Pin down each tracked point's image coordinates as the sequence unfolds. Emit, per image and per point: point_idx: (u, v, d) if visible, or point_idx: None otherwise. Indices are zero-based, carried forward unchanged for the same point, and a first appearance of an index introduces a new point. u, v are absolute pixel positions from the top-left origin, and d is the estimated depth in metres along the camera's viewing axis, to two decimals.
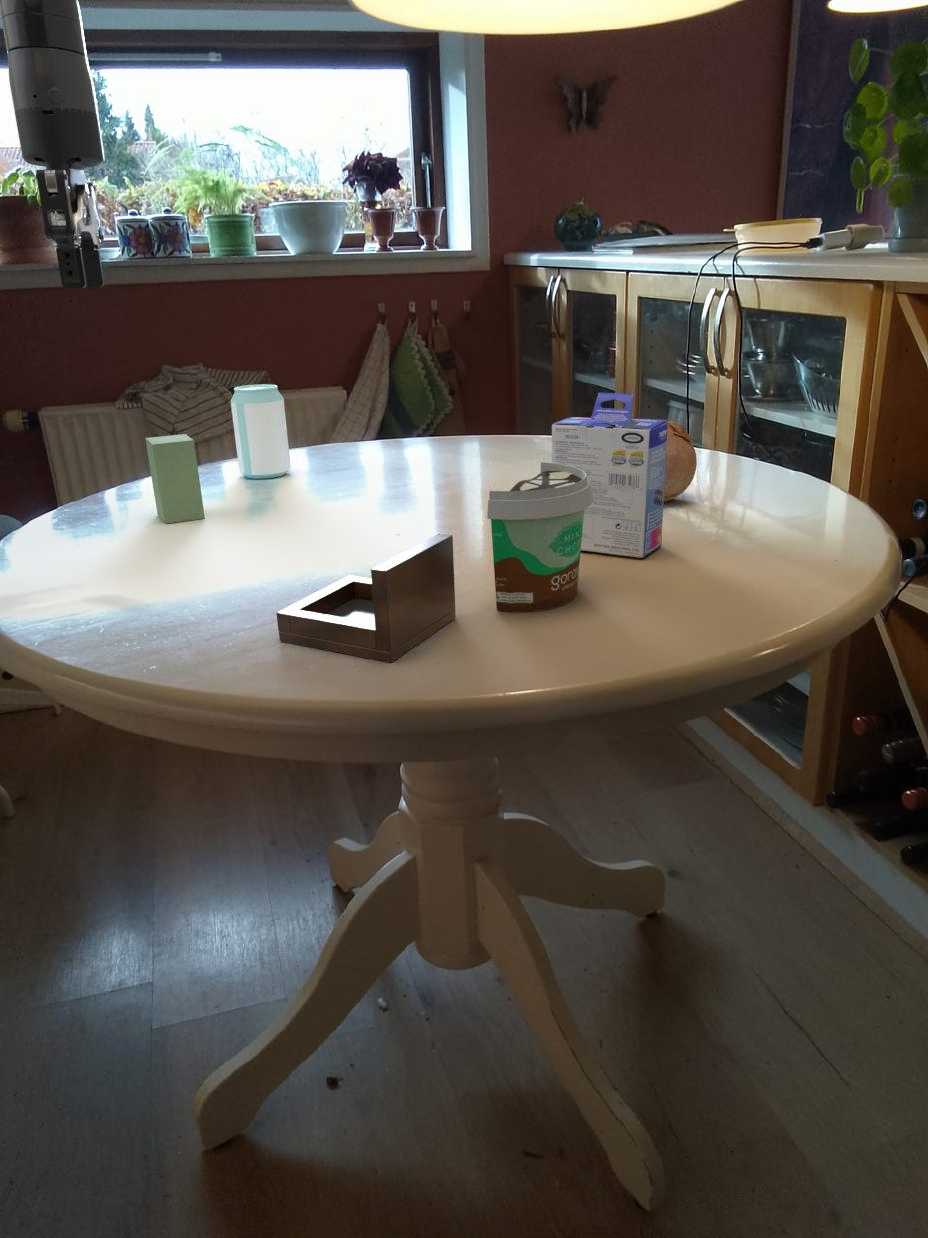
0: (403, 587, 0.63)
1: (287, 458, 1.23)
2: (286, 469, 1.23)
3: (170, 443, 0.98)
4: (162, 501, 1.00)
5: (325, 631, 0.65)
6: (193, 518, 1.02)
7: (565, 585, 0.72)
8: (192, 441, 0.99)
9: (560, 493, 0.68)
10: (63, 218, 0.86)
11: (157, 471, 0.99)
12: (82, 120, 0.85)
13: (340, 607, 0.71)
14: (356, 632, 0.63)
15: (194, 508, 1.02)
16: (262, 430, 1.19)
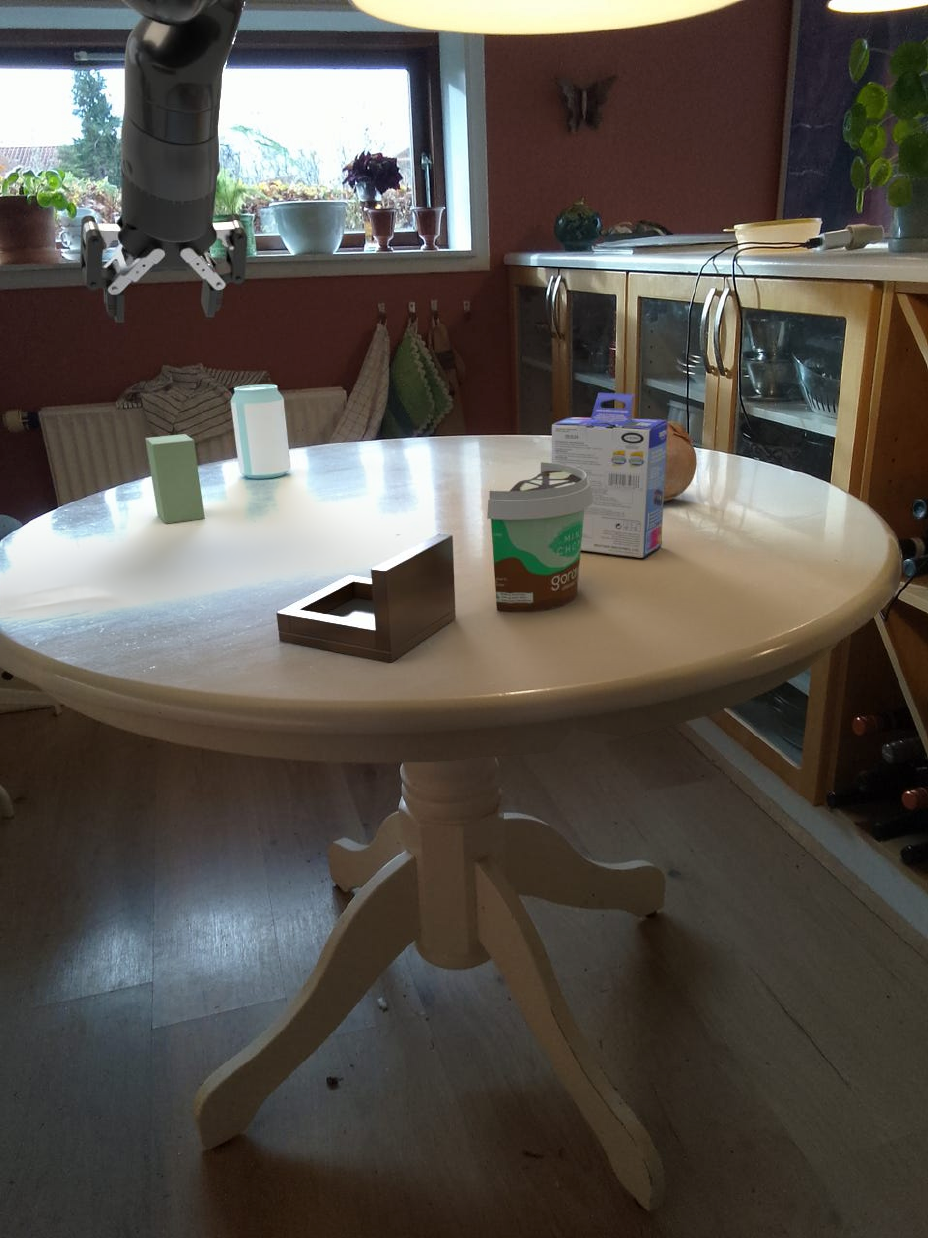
0: (403, 587, 0.63)
1: (287, 458, 1.23)
2: (286, 469, 1.23)
3: (170, 443, 0.98)
4: (162, 501, 1.00)
5: (325, 631, 0.65)
6: (193, 518, 1.02)
7: (565, 585, 0.72)
8: (192, 441, 0.99)
9: (560, 493, 0.68)
10: (119, 262, 0.79)
11: (157, 471, 0.99)
12: (146, 202, 0.72)
13: (340, 607, 0.71)
14: (356, 632, 0.63)
15: (194, 508, 1.02)
16: (262, 430, 1.19)
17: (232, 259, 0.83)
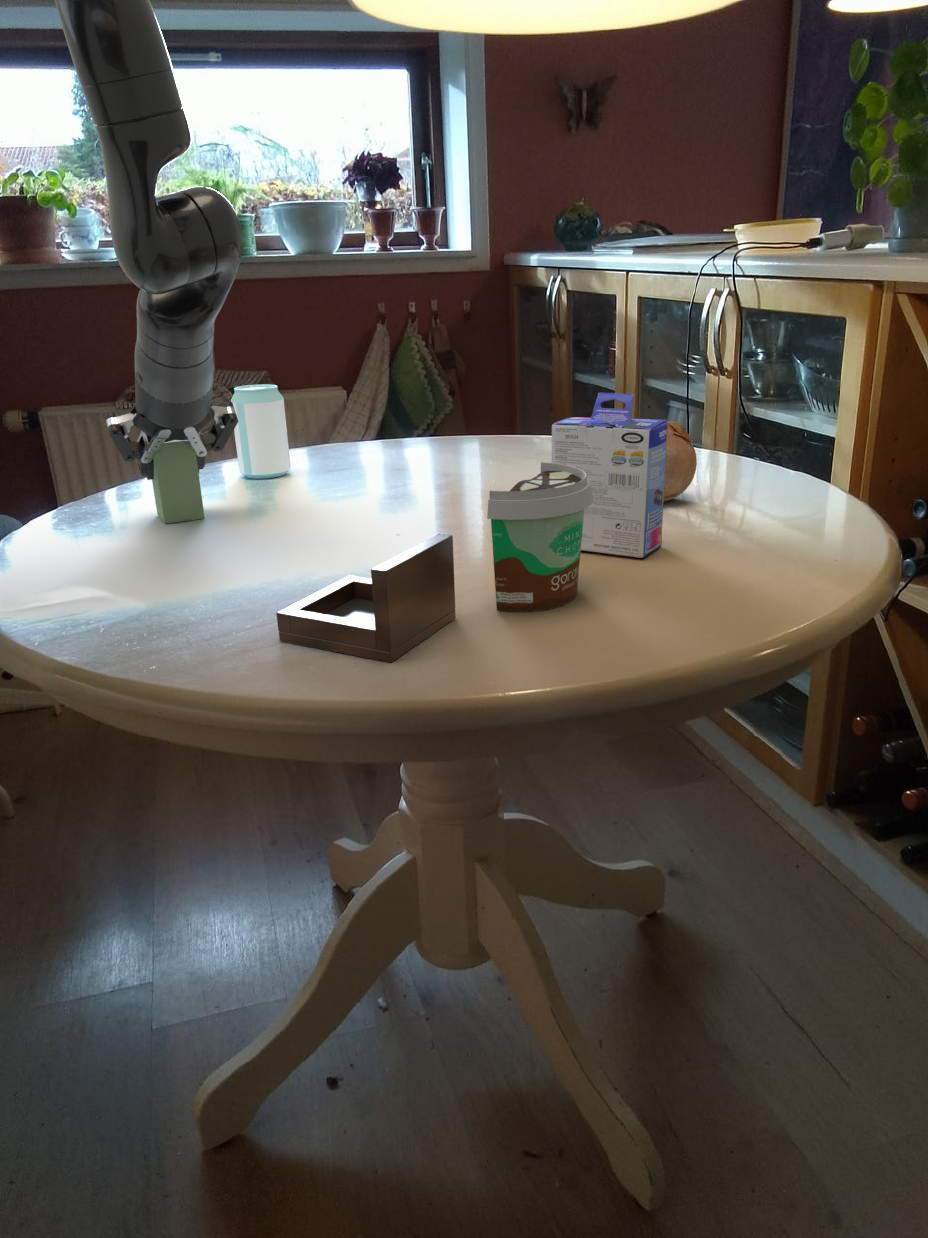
0: (403, 587, 0.63)
1: (287, 458, 1.23)
2: (286, 469, 1.23)
3: (170, 443, 0.98)
4: (162, 501, 1.00)
5: (325, 631, 0.65)
6: (193, 518, 1.02)
7: (565, 585, 0.72)
8: None
9: (560, 493, 0.68)
10: (144, 439, 0.97)
11: (157, 471, 0.99)
12: (154, 403, 0.88)
13: (340, 607, 0.71)
14: (356, 632, 0.63)
15: (194, 508, 1.02)
16: (262, 430, 1.19)
17: (219, 434, 0.99)
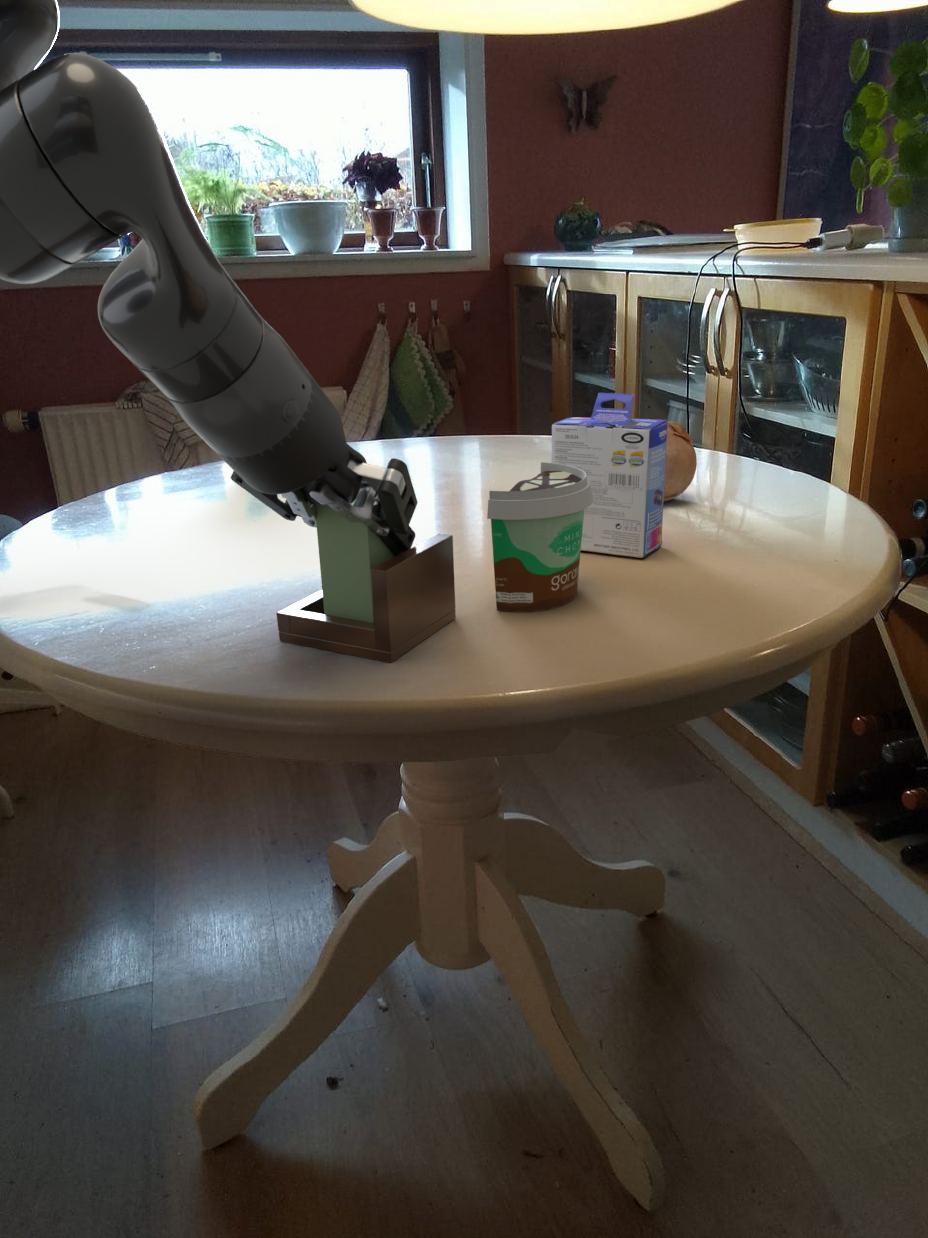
0: (403, 587, 0.63)
1: None
2: None
3: None
4: (323, 587, 0.66)
5: (325, 631, 0.65)
6: None
7: (565, 585, 0.72)
8: None
9: (560, 493, 0.68)
10: None
11: (319, 543, 0.65)
12: None
13: None
14: (356, 632, 0.63)
15: (361, 609, 0.65)
16: None
17: None
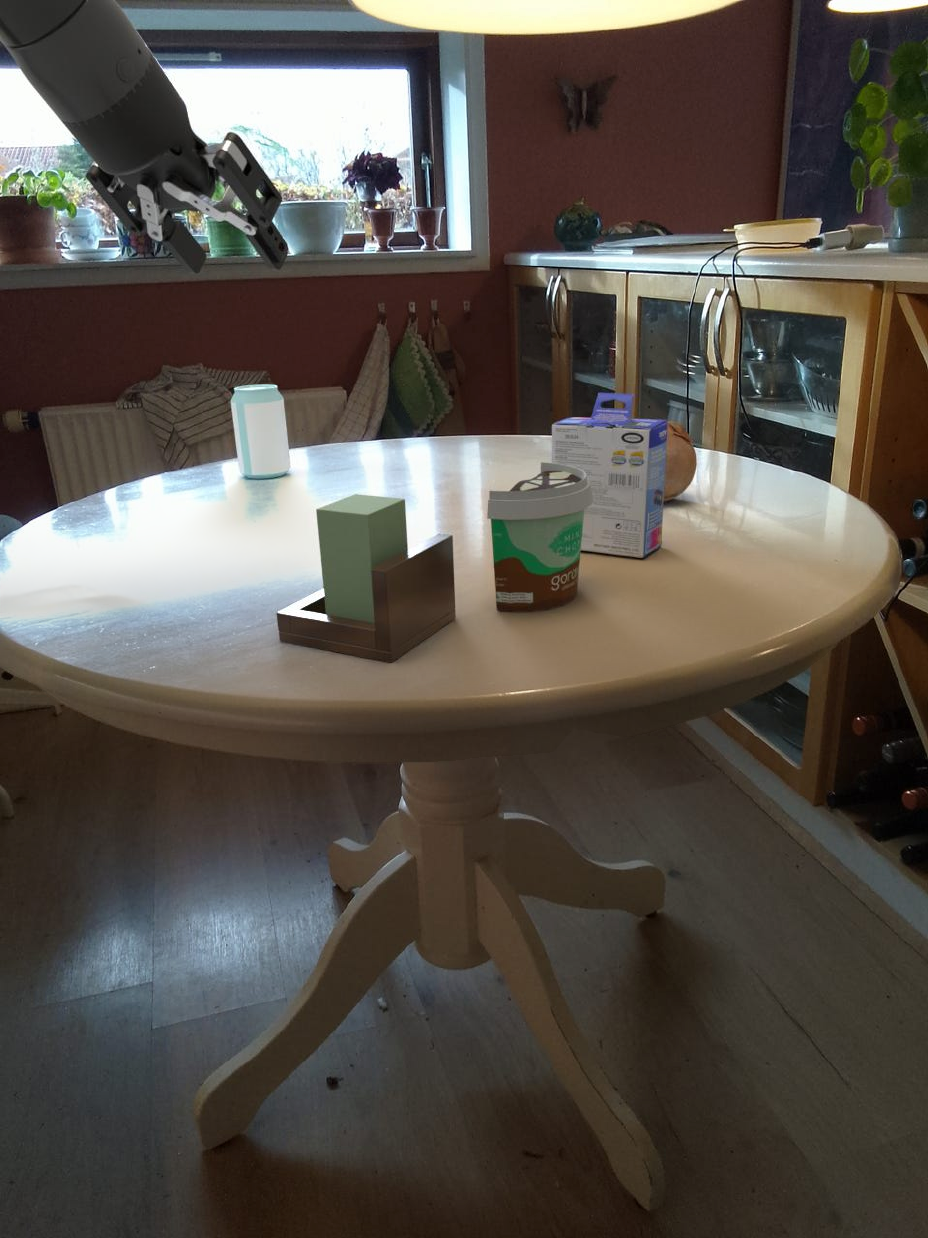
0: (403, 587, 0.63)
1: (287, 458, 1.23)
2: (286, 469, 1.23)
3: (337, 512, 0.63)
4: (324, 593, 0.66)
5: (325, 631, 0.65)
6: None
7: (565, 585, 0.72)
8: (365, 516, 0.62)
9: (560, 493, 0.68)
10: None
11: (320, 549, 0.65)
12: None
13: None
14: (356, 632, 0.63)
15: (364, 615, 0.65)
16: (262, 430, 1.19)
17: None
